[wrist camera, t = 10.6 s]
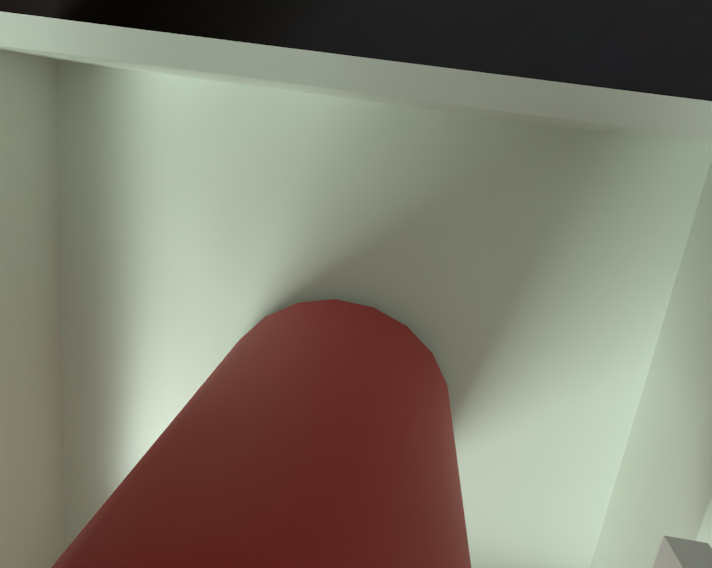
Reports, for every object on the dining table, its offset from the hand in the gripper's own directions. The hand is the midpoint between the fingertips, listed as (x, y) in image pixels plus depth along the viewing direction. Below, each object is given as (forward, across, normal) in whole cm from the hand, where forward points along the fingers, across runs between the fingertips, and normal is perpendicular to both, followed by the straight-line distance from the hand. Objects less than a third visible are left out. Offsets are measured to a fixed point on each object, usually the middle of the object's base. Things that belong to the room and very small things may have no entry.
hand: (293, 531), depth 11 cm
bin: (+7, 0, 0) cm, 7 cm away
